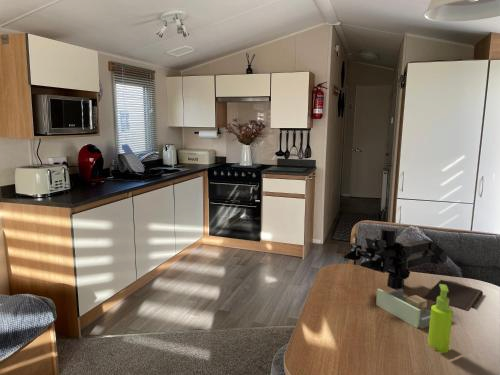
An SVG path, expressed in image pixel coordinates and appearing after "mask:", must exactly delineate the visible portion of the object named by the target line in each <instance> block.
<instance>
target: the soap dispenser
mask: <svg viewBox="0 0 500 375" xmlns="http://www.w3.org/2000/svg"><path fill="white" fill-rule="evenodd" d="M439 286H440V289H441V294H440V296H438V297H437V302H436V301H435V302H436V304H434V305H431V308H430V311H431V315H430V325H429V326H428V328H429V329H428V336H427V337H428V338H427V343H428V345H429V346H430V347H431V348H433V349H435V350H433V351H434V352H436V353H440V354H441V353H442V354H444V353H445V354H446V353H447V352H449V348H450V342H451V341H450V339H451V332H452V323H453V314H454V311H453V309H452V308H450V307H449V298H447V292H448V288H447V285H445V284H439Z"/></svg>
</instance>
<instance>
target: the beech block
mask: <svg viewBox="0 0 500 375" xmlns="http://www.w3.org/2000/svg"><path fill="white" fill-rule="evenodd" d="M405 298H406V303H408V304H410V305H412V306H414V307H416V308H418V309H420V313H421V312H424V311H426V309H427V307H428V299H427V300H426V298H423V297H421V296H419V295H416V294H415V295H410V296H406V297H405Z"/></svg>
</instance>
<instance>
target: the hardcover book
mask: <svg viewBox="0 0 500 375" xmlns="http://www.w3.org/2000/svg"><path fill="white" fill-rule="evenodd" d="M439 284H445V285H447V288H448V292H447V298H449V306H450V307H453V308H457V309H460V310H462V311H467V312H469V311H470V310H471V309H474V308H475V307H476V305H477V304H478V302H479V301H480V299H481V298H482V296H483V293H484V292H483V290H481V289H477V288H473V287H470V286H466V285H462V284H458V283H455V282H451V281H447V280H444V279H440V280H439V281H438V282H437V283H436V284H435V285H434V286H433V287H432V288H431V289H430V290H429V291H428V292H427V293H426V294H425V295H424V296H423V297H422V298H423V299H425V300H426V299H427V300H430V301H433V302H437V297H438V296H440V294H441V289H440V286H439Z"/></svg>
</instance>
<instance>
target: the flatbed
mask: <svg viewBox="0 0 500 375" xmlns="http://www.w3.org/2000/svg"><path fill="white" fill-rule="evenodd" d="M404 291H405V290H404V289H403V288H398V289H396V290H392V291H388V292H387V293H389V294H391V295H393V296H394V297H396V298H398V299H400V300H402V301H404V302H406V297H404V293H405V292H404ZM430 315H431V309H428V308H426V311H424V312H421V313H420V320H419V327H418V328H420V329H424V328H427V327H428V328H429V325H430Z"/></svg>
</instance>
